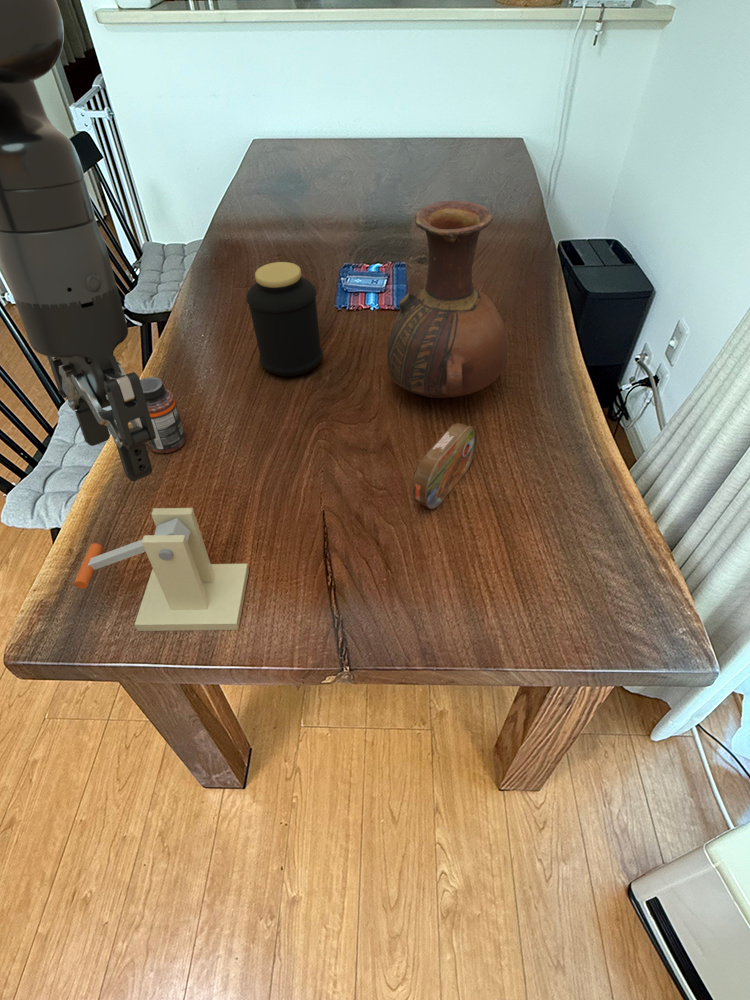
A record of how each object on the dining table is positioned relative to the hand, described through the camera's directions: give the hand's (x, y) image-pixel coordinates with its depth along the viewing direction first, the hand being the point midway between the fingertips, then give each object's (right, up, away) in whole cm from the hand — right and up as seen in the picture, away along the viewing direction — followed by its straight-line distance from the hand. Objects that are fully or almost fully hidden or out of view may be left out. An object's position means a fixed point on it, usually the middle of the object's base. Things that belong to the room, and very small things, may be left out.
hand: (118, 458), depth 56 cm
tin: (+34, -2, +32) cm, 47 cm away
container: (+9, +21, +55) cm, 60 cm away
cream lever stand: (+2, -16, +18) cm, 24 cm away
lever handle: (-3, -10, +12) cm, 16 cm away
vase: (+36, +15, +49) cm, 63 cm away
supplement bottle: (-9, +5, +39) cm, 41 cm away
